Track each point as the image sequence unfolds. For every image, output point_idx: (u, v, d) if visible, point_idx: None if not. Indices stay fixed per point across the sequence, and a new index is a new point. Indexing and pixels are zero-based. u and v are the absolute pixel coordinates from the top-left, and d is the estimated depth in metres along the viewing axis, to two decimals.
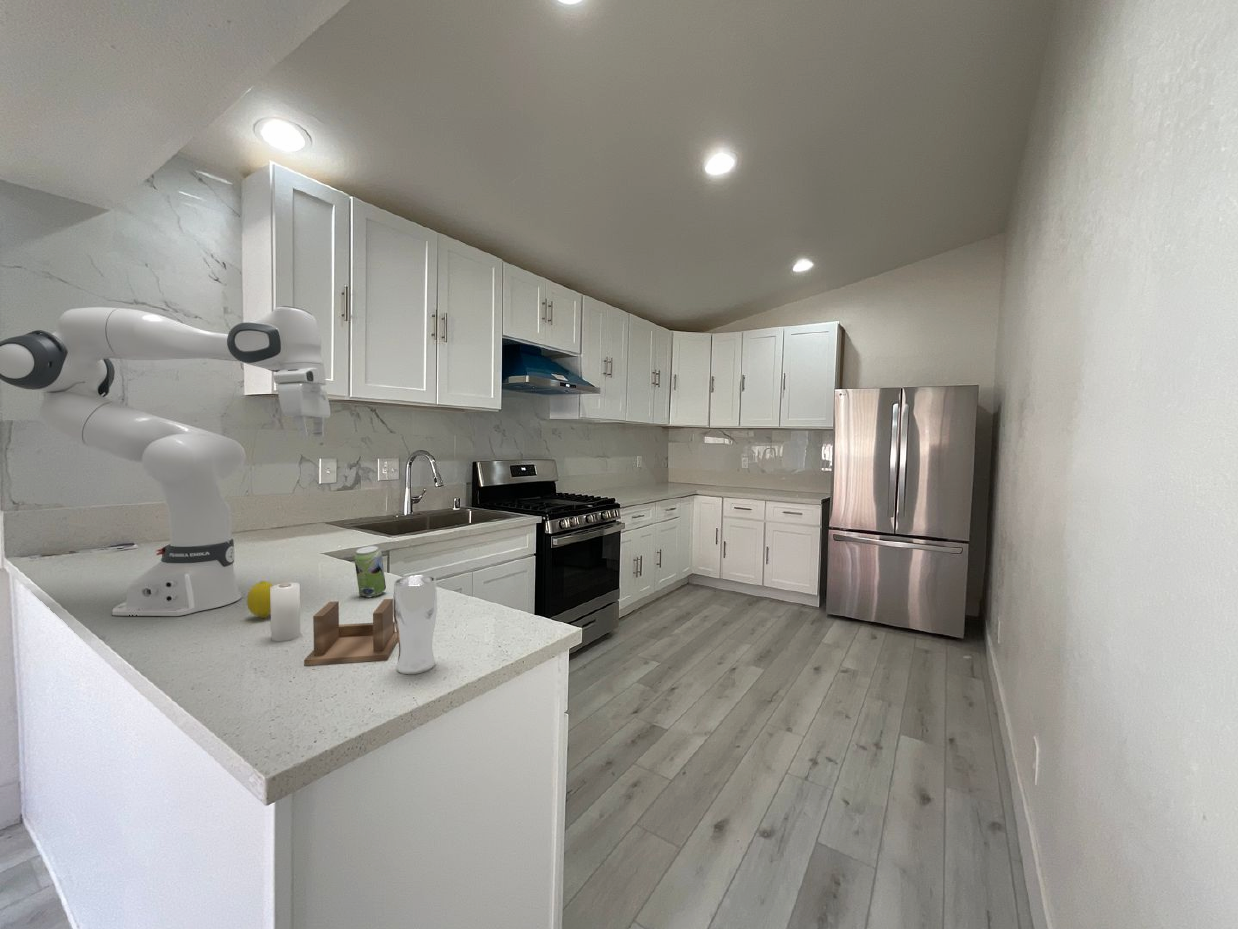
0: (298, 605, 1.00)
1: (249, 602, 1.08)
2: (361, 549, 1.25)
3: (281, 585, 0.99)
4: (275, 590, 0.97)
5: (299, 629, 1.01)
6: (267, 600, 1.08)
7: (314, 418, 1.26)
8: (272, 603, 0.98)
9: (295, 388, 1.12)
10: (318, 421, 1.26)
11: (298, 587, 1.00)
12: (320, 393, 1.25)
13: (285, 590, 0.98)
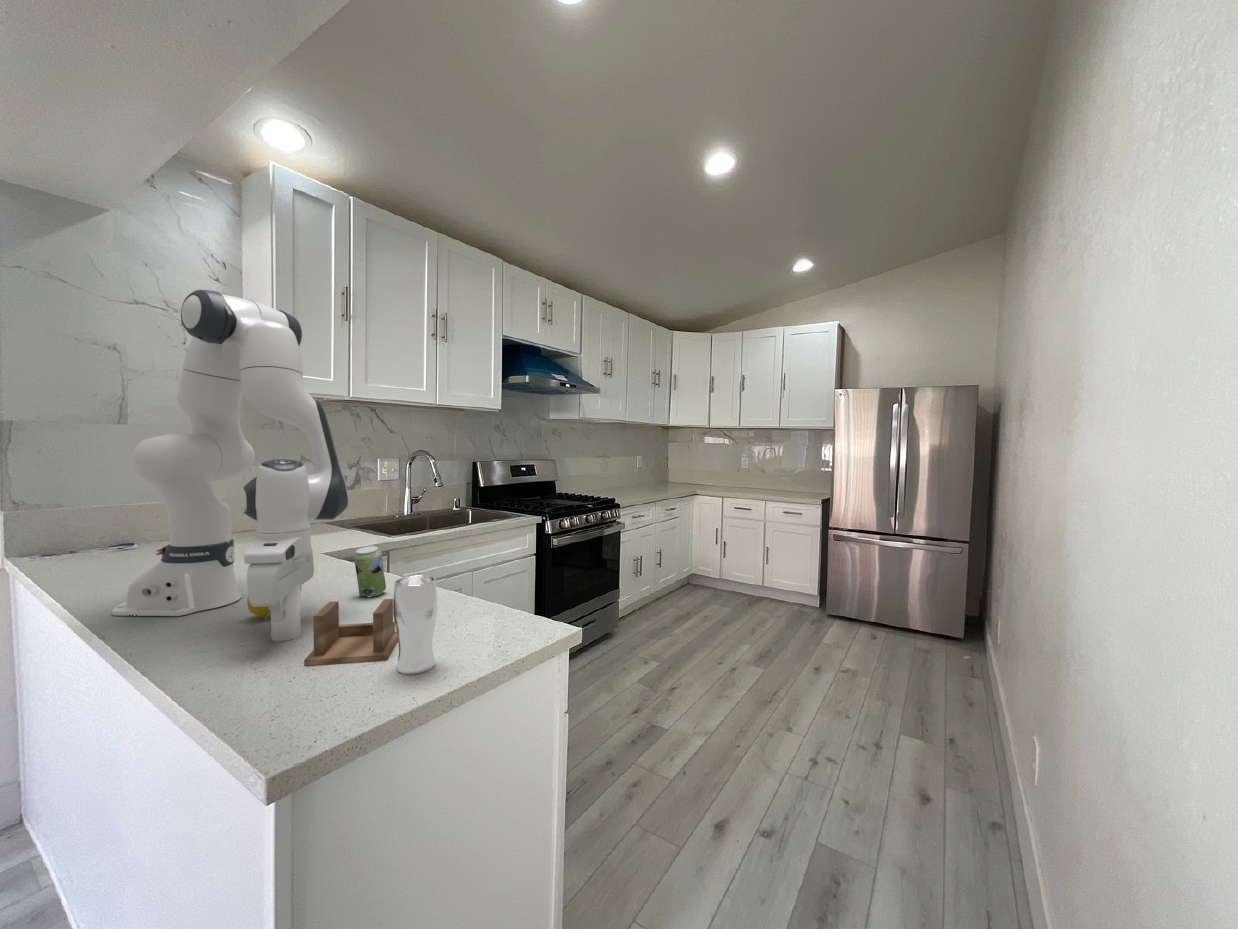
0: (298, 605, 1.00)
1: (249, 602, 1.08)
2: (361, 549, 1.25)
3: None
4: None
5: (299, 629, 1.01)
6: None
7: None
8: None
9: (269, 573, 0.91)
10: None
11: (298, 587, 1.00)
12: None
13: None
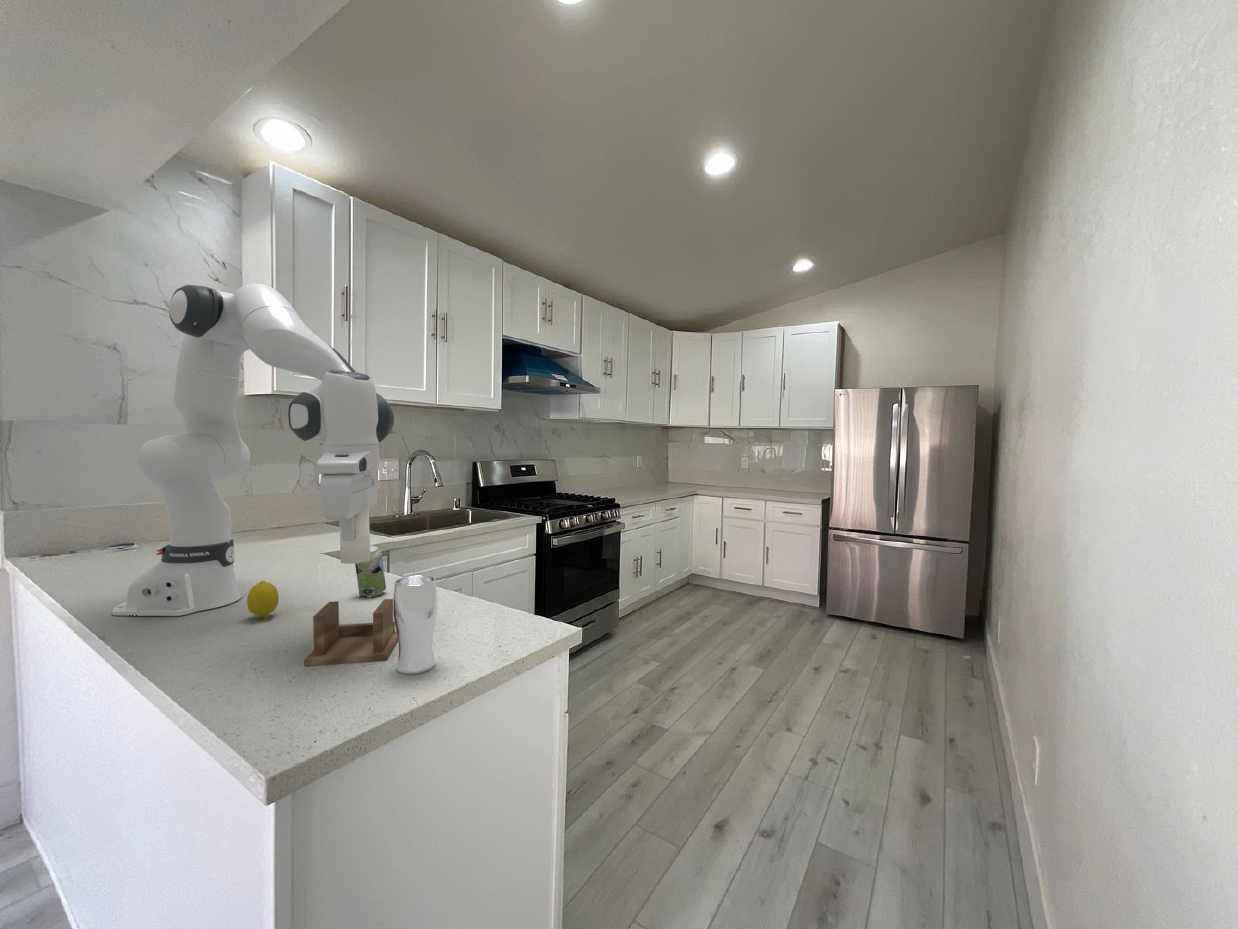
0: (368, 526, 0.94)
1: (249, 602, 1.08)
2: None
3: None
4: None
5: (369, 552, 0.94)
6: (267, 600, 1.08)
7: None
8: None
9: (343, 483, 0.84)
10: None
11: (368, 507, 0.94)
12: None
13: None
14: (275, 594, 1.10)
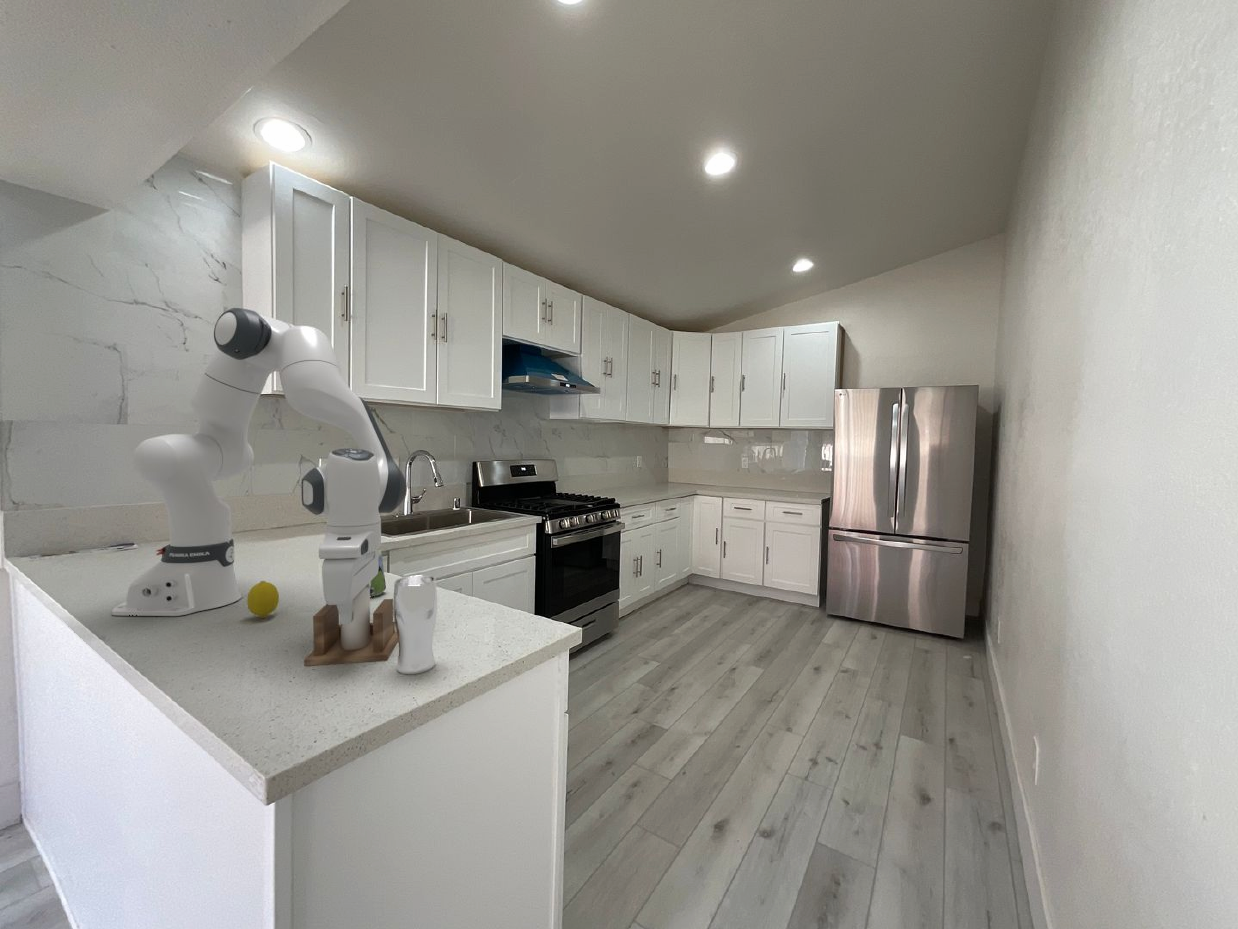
0: (368, 611, 0.94)
1: (249, 602, 1.08)
2: None
3: None
4: None
5: (369, 636, 0.95)
6: (267, 600, 1.08)
7: None
8: None
9: (345, 569, 0.85)
10: None
11: (369, 592, 0.94)
12: None
13: (357, 595, 0.92)
14: (275, 594, 1.10)
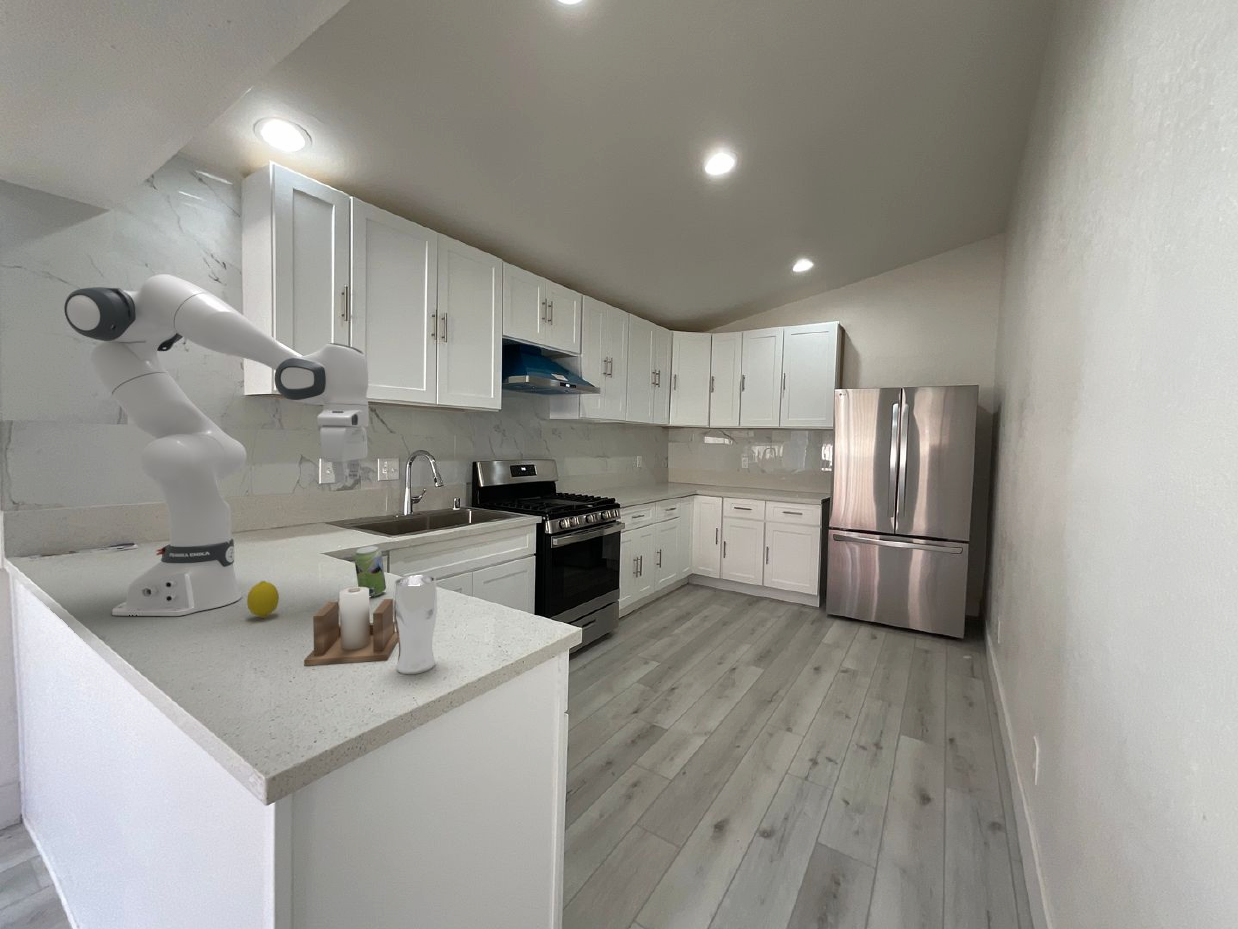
0: (368, 611, 0.94)
1: (249, 602, 1.08)
2: (361, 549, 1.25)
3: (350, 590, 0.93)
4: (346, 595, 0.92)
5: (369, 636, 0.95)
6: (267, 600, 1.08)
7: None
8: (342, 609, 0.92)
9: (338, 433, 1.05)
10: (355, 462, 1.20)
11: (368, 592, 0.94)
12: (360, 434, 1.19)
13: (356, 595, 0.92)
14: (275, 594, 1.10)
